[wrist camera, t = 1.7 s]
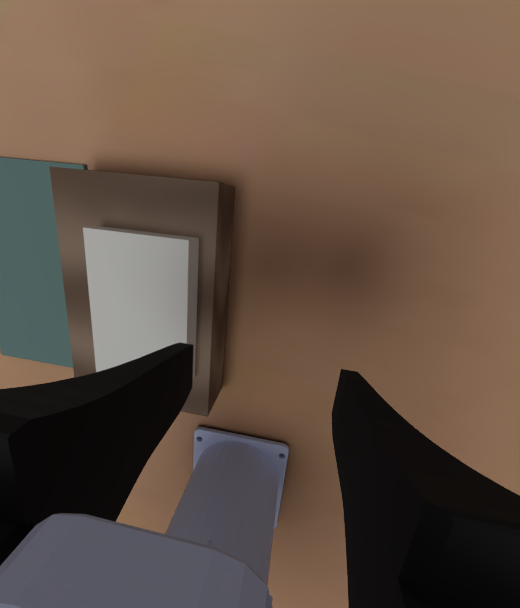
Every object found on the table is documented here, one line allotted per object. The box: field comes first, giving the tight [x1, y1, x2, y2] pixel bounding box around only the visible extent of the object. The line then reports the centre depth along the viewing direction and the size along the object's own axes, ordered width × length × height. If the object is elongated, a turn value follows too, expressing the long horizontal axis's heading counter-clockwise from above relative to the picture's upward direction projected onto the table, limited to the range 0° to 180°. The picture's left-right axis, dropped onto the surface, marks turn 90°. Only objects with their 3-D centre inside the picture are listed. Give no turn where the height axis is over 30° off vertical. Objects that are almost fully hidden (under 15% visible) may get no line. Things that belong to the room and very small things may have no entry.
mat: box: [0, 157, 87, 368], centre depth 23 cm, size 16×10×1 cm, turn 174°
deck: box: [49, 166, 235, 416], centre depth 20 cm, size 15×10×4 cm, turn 174°
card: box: [83, 226, 199, 378], centre depth 17 cm, size 9×6×2 cm, turn 174°
